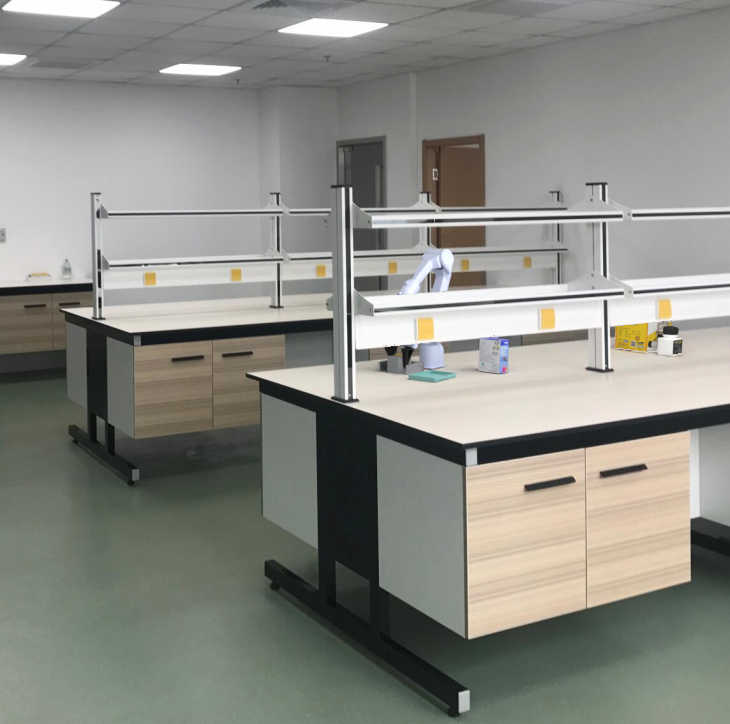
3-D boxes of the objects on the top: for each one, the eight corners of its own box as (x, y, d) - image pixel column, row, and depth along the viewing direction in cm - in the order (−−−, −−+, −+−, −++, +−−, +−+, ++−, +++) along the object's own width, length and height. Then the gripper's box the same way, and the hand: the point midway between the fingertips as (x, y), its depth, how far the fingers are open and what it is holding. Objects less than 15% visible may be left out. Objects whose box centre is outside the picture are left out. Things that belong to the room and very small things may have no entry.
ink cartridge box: (509, 372, 351) (510, 332, 348) (499, 374, 347) (500, 334, 344) (487, 369, 357) (488, 330, 355) (477, 371, 354) (478, 331, 351)
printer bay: (393, 367, 360) (393, 358, 360) (423, 371, 352) (423, 362, 352) (377, 371, 353) (377, 361, 352) (408, 375, 344) (408, 365, 344)
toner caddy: (399, 369, 356) (400, 352, 355) (411, 371, 353) (411, 353, 352) (387, 372, 350) (387, 354, 349) (398, 374, 347) (398, 355, 346)
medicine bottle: (672, 357, 389) (674, 327, 387) (656, 355, 394) (658, 326, 392) (681, 355, 393) (683, 326, 392) (666, 353, 399) (667, 324, 397)
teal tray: (430, 374, 347) (430, 369, 347) (456, 377, 341) (456, 372, 340) (408, 379, 336) (408, 374, 336) (434, 382, 330) (434, 378, 329)
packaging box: (637, 346, 421) (640, 288, 417) (669, 350, 408) (673, 291, 405) (614, 349, 411) (616, 290, 407) (646, 353, 398) (649, 293, 395)
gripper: (376, 328, 350) (376, 365, 352) (409, 331, 342) (409, 369, 344) (388, 326, 356) (387, 363, 358) (421, 330, 347) (420, 367, 349)
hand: (399, 366), depth 351 cm, fingers closed on toner caddy, 5 cm apart
